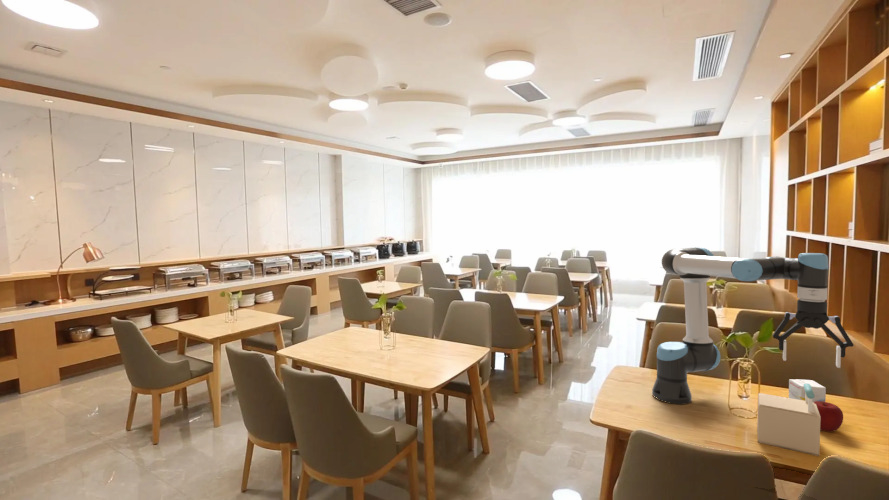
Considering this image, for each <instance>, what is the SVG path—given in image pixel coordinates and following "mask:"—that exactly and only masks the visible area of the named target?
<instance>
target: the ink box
mask: <svg viewBox="0 0 889 500" xmlns="http://www.w3.org/2000/svg"><path fill="white" fill-rule="evenodd" d="M806 383H808V384H810V385H811V387H812V390H813V393H814V396H815V397H814V398H813V399H812V402H815V401H823V402H826V393H827V392H826V391H827V388H826V386H823V385H821V384H820V383H818V382H817V381H815V380H811V379H799V378H798V379H797V378H796V379H788V398H792V399H798V400H803V401H805V389H804V384H806Z"/></svg>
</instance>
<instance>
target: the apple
mask: <svg viewBox="0 0 889 500" xmlns="http://www.w3.org/2000/svg"><path fill="white" fill-rule="evenodd" d="M814 404H816V406H817V408H818V411H819V414H820V417H821V420H820V431H823V432H835V431H837V430H838V429H840V427H841V425H843V422H844V413H843V410H842V409H841V408H840V407H839V406H837V404H834V403H830V402H827V401H825V402H823V401H815V402H814Z"/></svg>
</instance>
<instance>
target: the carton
mask: <svg viewBox="0 0 889 500" xmlns="http://www.w3.org/2000/svg"><path fill="white" fill-rule="evenodd" d="M814 405H815V407H816V410H817V413H818V416H814V415H809V414H803V413H798V412H793V411H787V410H782V409H776V408H771V407H766V406H760V405H759V393H757V420H756V421H757V423H756V424H757V426H756V427H757V428H756V429H757V443H758V444H759V443H760V444H763V445H768V446H772V447H776V448H781V449H786V450H790V451H794V452H798V451H799V452H798V453H802V452H803V453H802V454H807V455H811V456H812V455H813V456H816V457H820V447H821V444H820V443H821V442H820V441H821V430H820V420H821V417H820V414H819V411H818V408H817V406H816V404H814Z"/></svg>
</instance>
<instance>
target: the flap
mask: <svg viewBox="0 0 889 500" xmlns="http://www.w3.org/2000/svg"><path fill="white" fill-rule="evenodd" d="M804 389H805V401H803V400H798V399H792V398H789V397H784V396H779V395H774V394H768V393H762V392H758V394H759V405H760V406H766V407H771V408H776V409H782V410H787V411H793V412H798V413H803V414H809V415H814V416H818V413H817V410H816V407H815V405H814V402H812V399H813V398H814V397H815V396H814V393H813V390H812V387H811V385H810V384H808V383H806V384H804Z"/></svg>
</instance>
